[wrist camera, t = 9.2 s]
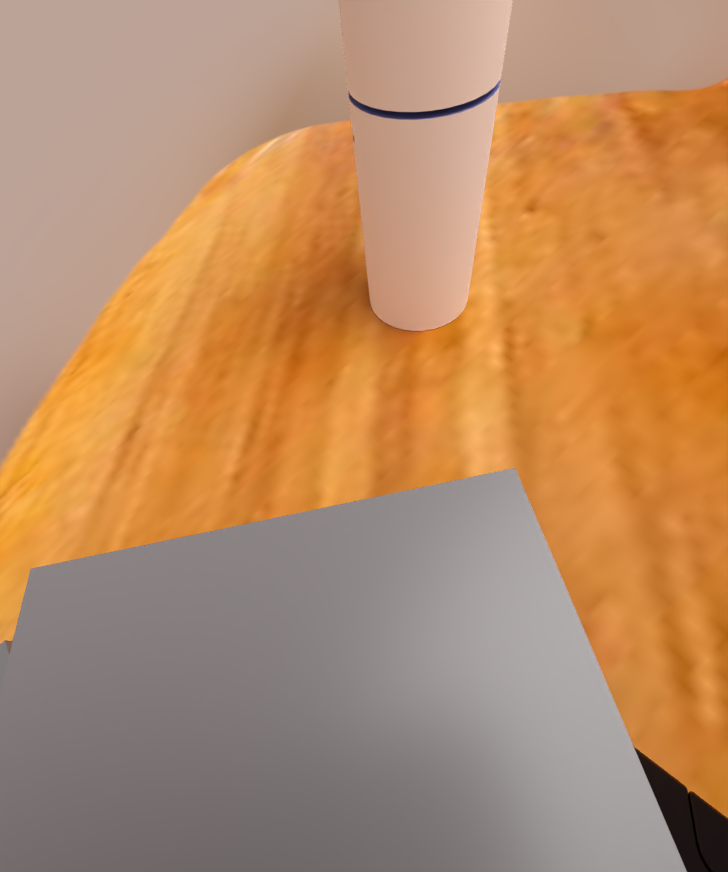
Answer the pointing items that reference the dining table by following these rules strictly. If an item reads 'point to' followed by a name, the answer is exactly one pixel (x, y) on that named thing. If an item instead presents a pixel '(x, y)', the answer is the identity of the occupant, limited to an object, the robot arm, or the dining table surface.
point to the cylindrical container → (422, 145)
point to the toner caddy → (321, 702)
